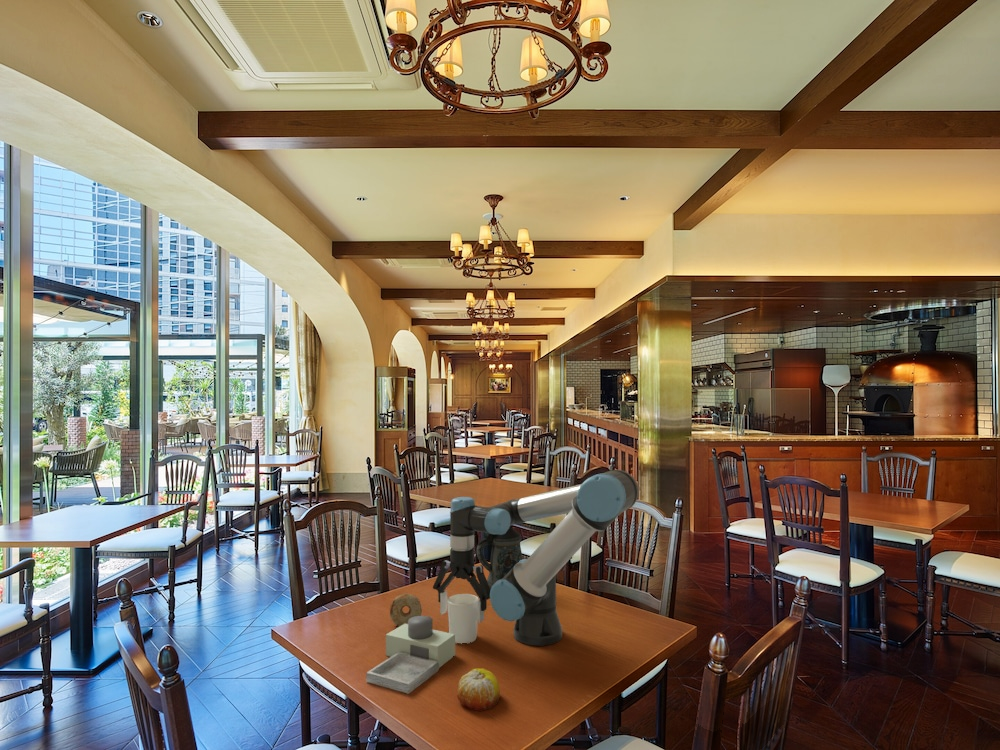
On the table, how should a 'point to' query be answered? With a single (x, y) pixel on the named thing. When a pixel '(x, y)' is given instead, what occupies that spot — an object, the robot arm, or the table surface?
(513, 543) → the beer stein
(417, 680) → the gray square tray
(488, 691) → the fruit
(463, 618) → the candle holder
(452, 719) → the table surface
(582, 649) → the table surface
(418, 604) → the stone disc
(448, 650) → the push-button box
